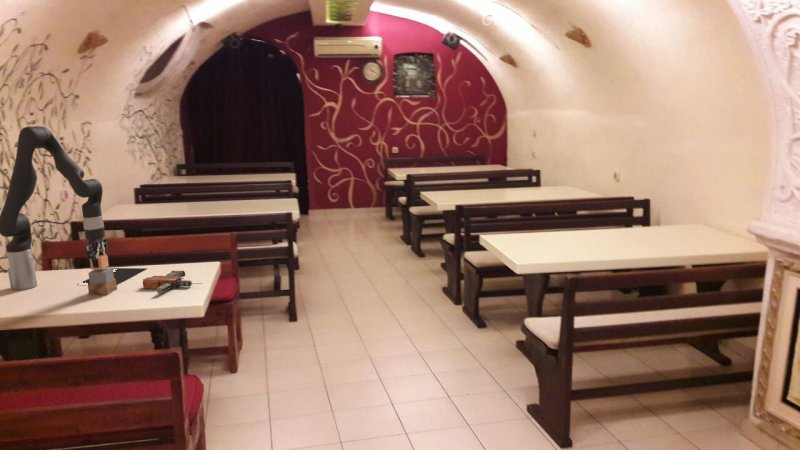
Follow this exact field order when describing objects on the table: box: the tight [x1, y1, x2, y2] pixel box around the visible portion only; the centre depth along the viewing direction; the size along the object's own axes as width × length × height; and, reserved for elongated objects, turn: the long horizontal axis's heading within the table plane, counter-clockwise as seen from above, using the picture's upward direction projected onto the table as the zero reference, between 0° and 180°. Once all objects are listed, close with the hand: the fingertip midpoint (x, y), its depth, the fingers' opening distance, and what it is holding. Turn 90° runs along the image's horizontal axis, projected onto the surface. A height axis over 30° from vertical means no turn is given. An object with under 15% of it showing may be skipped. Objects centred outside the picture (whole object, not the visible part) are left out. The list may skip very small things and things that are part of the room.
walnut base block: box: [87, 279, 118, 296], centre depth 252 cm, size 8×8×5 cm
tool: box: [142, 270, 202, 295], centre depth 259 cm, size 4×27×30 cm
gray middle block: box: [88, 267, 114, 284], centre depth 251 cm, size 7×7×5 cm
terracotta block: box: [89, 254, 110, 271], centre depth 250 cm, size 5×5×5 cm
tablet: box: [77, 267, 148, 286], centre depth 276 cm, size 27×1×20 cm
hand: (99, 265), depth 250 cm, fingers closed on terracotta block, 4 cm apart
